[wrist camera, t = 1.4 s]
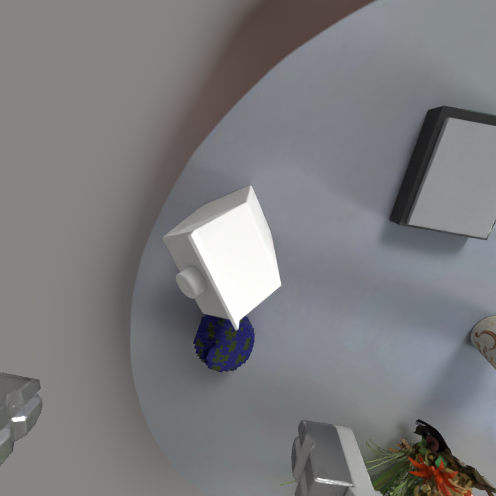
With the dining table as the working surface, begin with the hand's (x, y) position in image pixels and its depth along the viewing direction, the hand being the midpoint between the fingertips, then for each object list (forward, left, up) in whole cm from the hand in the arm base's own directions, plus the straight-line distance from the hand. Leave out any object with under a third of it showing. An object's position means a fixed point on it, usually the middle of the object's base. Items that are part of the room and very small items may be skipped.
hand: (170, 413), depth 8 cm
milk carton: (0, 0, -28) cm, 28 cm away
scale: (-10, +25, -28) cm, 39 cm away
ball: (+16, +1, -28) cm, 32 cm away
